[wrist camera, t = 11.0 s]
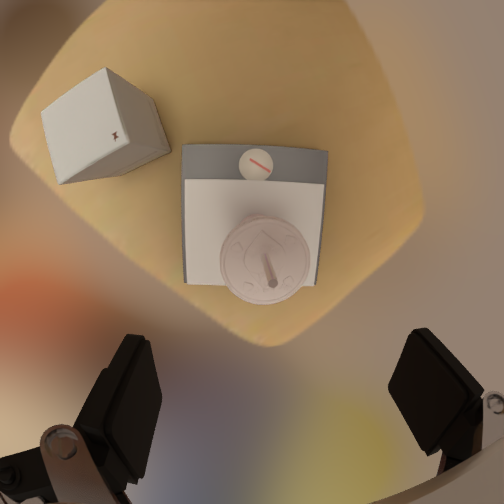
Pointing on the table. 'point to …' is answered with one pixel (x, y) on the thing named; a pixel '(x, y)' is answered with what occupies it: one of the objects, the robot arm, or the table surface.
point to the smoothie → (264, 259)
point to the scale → (247, 199)
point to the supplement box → (102, 129)
